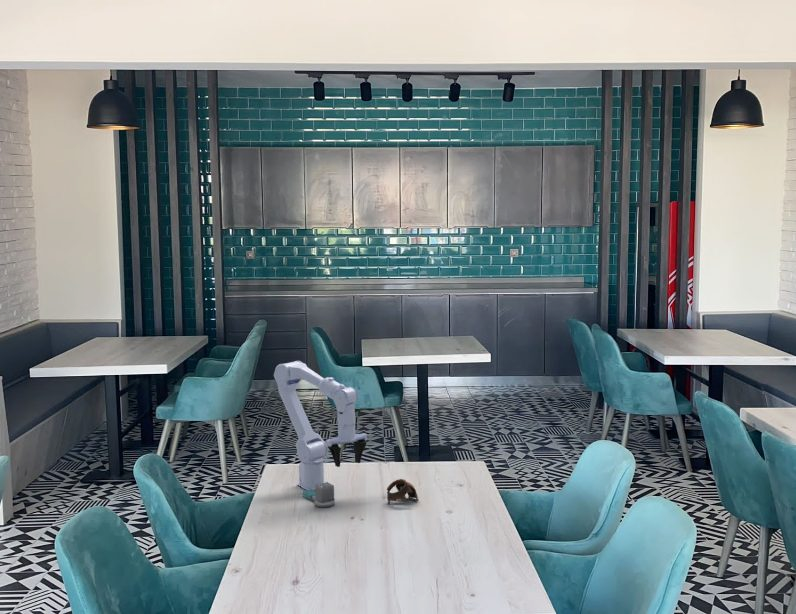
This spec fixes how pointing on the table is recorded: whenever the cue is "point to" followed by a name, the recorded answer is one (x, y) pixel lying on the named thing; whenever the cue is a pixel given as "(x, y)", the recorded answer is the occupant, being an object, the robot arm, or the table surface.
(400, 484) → the brown openwork dome
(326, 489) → the socket
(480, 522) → the table surface
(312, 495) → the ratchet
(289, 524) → the table surface
